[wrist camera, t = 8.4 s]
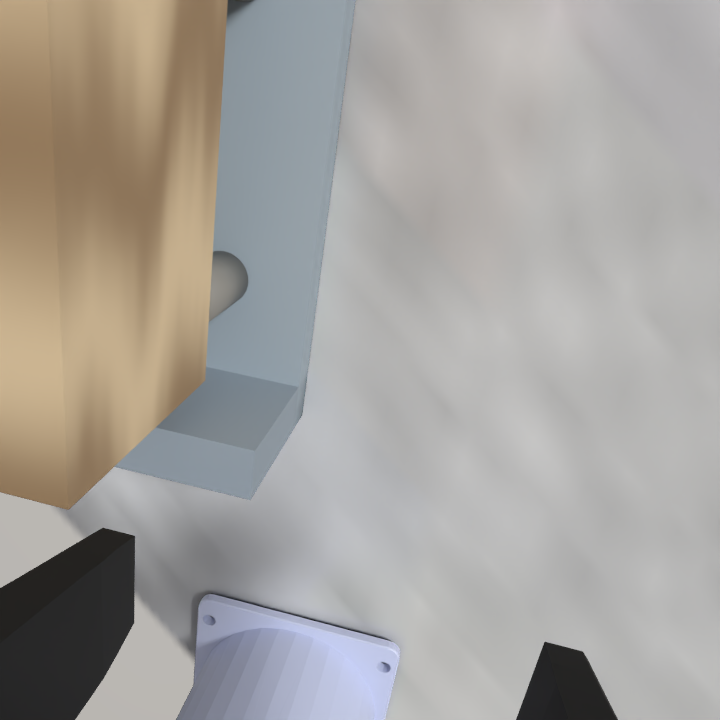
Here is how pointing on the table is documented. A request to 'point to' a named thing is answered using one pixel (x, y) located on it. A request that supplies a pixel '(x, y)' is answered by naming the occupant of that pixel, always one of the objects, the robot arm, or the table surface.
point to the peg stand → (261, 244)
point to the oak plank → (102, 229)
